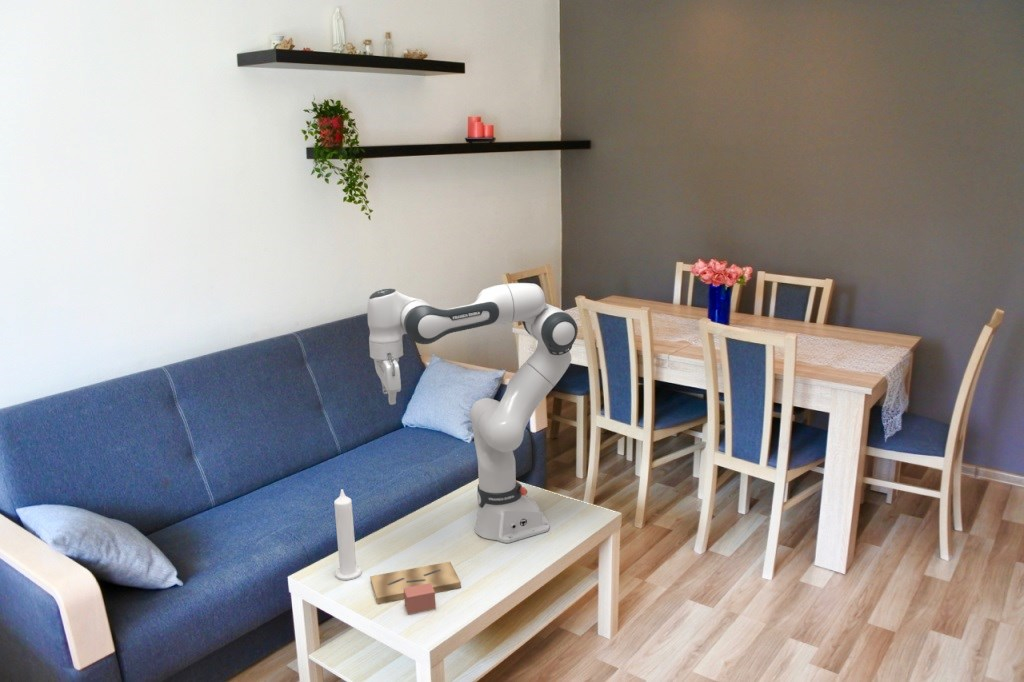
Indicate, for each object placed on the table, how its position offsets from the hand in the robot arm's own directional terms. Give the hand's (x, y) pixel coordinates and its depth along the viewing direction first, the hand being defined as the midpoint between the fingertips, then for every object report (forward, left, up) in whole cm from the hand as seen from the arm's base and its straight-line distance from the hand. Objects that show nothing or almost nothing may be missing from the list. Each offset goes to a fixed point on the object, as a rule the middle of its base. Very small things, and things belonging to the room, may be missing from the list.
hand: (389, 398), depth 222 cm
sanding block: (0, +31, -46) cm, 55 cm away
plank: (-1, +20, -46) cm, 50 cm away
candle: (+15, +8, -46) cm, 49 cm away
